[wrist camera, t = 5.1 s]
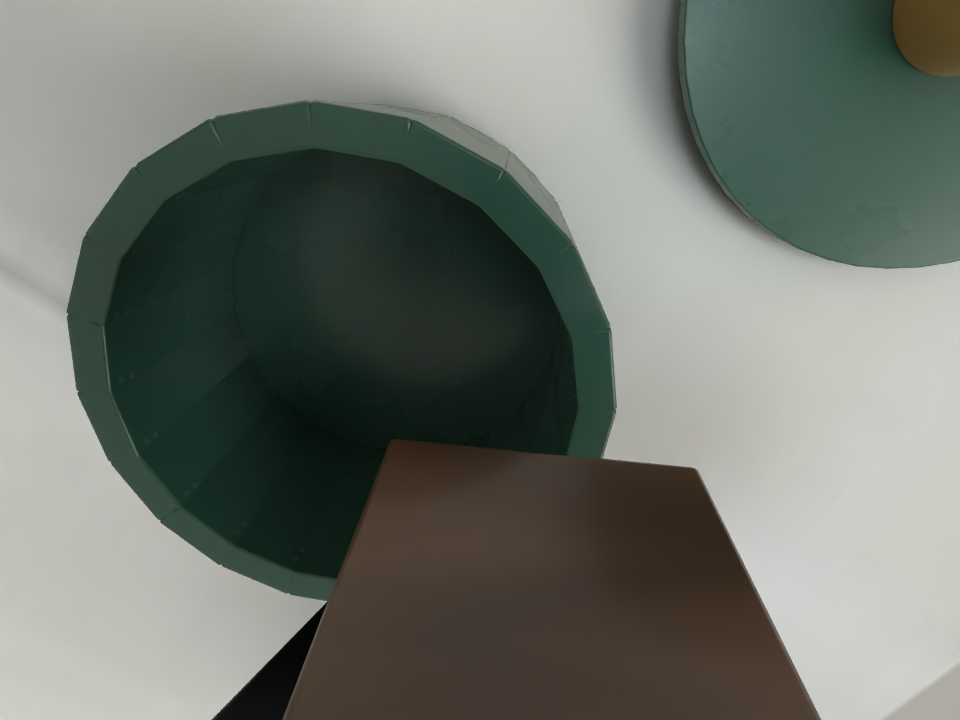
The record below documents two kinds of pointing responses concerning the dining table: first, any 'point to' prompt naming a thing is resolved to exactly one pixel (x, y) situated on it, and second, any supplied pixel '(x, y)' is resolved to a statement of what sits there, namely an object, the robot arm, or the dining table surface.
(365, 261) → the tin
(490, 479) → the block
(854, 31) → the tin lid
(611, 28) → the dining table surface
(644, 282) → the dining table surface
